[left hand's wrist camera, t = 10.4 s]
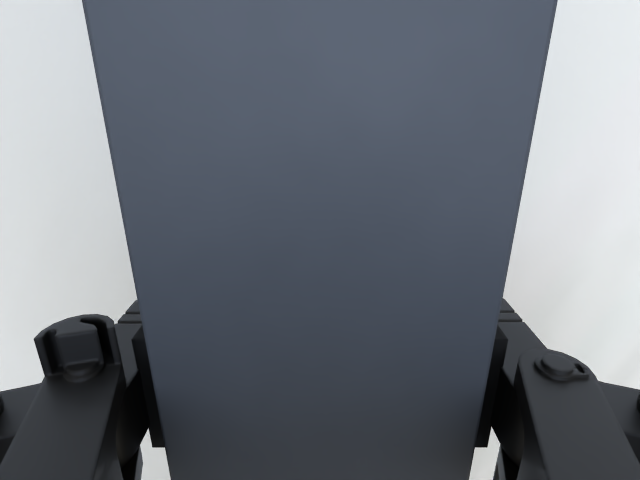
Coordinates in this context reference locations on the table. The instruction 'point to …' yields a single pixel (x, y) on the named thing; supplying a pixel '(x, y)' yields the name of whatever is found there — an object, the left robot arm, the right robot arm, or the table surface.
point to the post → (319, 221)
